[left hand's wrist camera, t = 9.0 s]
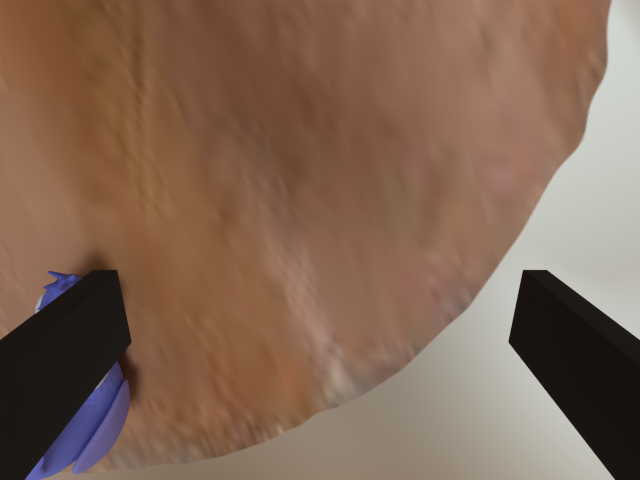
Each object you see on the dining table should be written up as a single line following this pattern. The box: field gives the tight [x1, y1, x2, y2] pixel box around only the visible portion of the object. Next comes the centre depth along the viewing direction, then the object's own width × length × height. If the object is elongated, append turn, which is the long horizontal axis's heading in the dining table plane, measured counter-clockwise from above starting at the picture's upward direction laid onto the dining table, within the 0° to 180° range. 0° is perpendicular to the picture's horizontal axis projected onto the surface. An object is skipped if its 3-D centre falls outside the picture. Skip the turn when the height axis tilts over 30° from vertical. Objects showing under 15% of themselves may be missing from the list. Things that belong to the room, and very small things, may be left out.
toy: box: [25, 271, 130, 480], centre depth 39 cm, size 10×17×25 cm
